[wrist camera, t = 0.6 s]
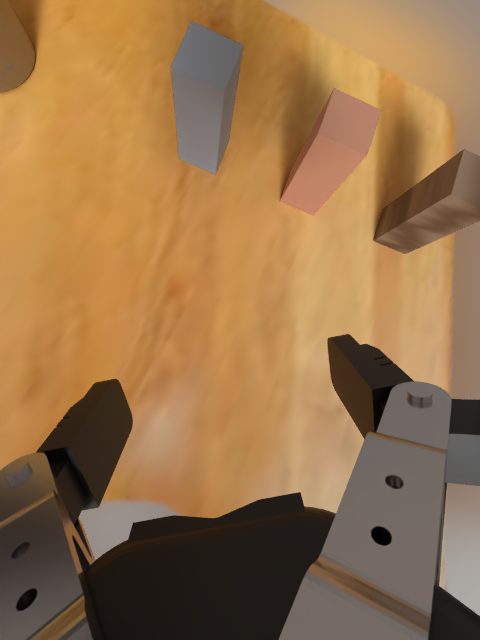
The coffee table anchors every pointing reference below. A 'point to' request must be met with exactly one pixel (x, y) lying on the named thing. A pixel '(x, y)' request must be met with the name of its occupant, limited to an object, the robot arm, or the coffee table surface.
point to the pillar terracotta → (331, 151)
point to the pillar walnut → (433, 206)
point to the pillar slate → (204, 95)
